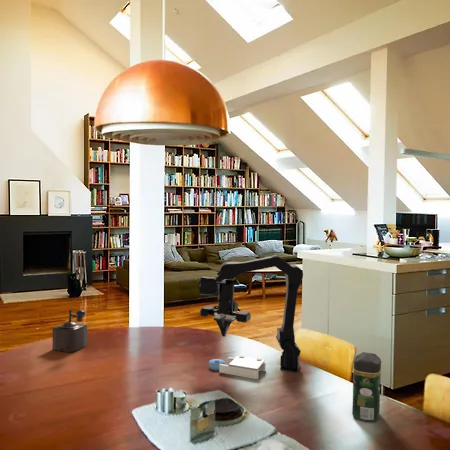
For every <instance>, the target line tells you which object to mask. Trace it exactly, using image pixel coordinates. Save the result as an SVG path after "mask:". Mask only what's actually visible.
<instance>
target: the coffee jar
mask: <svg viewBox="0 0 450 450" xmlns="http://www.w3.org/2000/svg"><path fill="white" fill-rule="evenodd" d="M381 374H382V360H381V358H380V357H379V356H378V355H377V354H376V353H372V352H367V351H366V352H363V351H362V352H361V353H359V354H358V353H357V355H355V357H354V360H353V374H352V376H353V379H352V409H351V411H352V412H351V414H352V416H353V417H354V418H355V419H357V420H359V419H360V420H359V421H362V420H365V421H364V422H376V421H377V420H378V419H379V418H380V409H381V408H380V407H381V404H380V403H381V379H382V376H381Z"/></svg>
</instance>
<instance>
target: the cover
mask: <svg viewBox="0 0 450 450" xmlns="http://www.w3.org/2000/svg"><path fill="white" fill-rule="evenodd" d="M234 358H235V359H234V360H233V361H232V362H231V363H229V365H234V366H240V367H246V368H252V369H259V368H260V366H261V365H262V364H263V363H266V361H265V359H262V358H254V357H247V356H244V355H237V356H235V357H234Z"/></svg>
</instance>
